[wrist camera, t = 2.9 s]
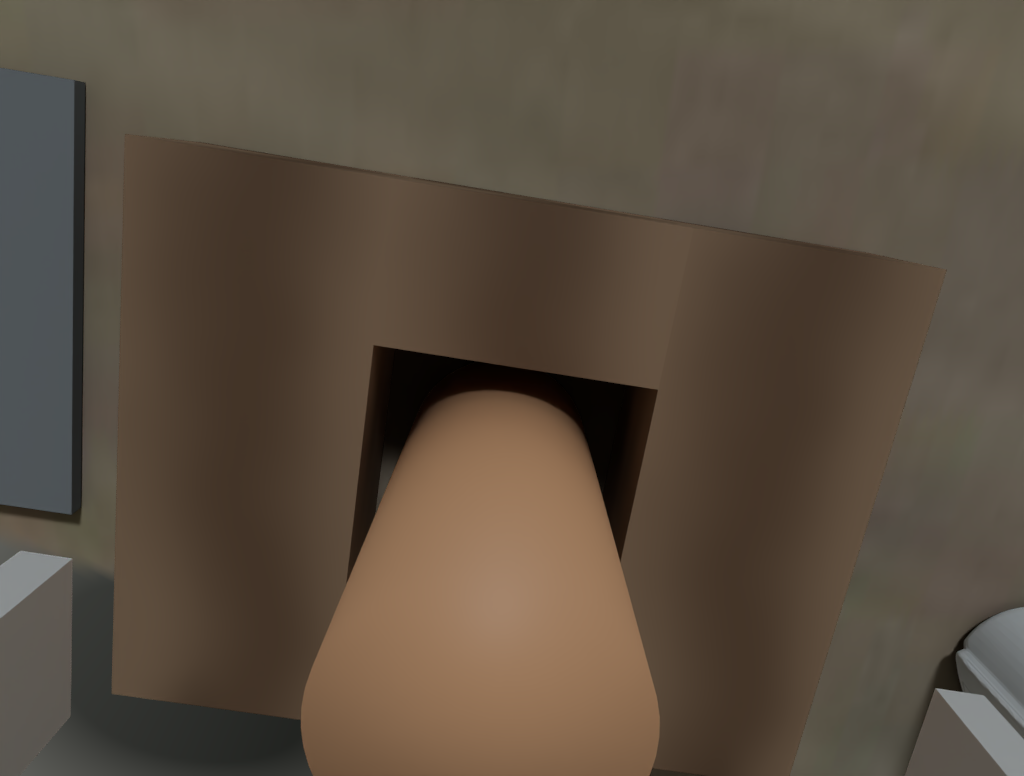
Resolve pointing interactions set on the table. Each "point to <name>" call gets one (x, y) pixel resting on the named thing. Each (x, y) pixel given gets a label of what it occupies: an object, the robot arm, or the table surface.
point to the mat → (41, 290)
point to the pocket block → (503, 341)
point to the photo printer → (996, 664)
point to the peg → (486, 605)
